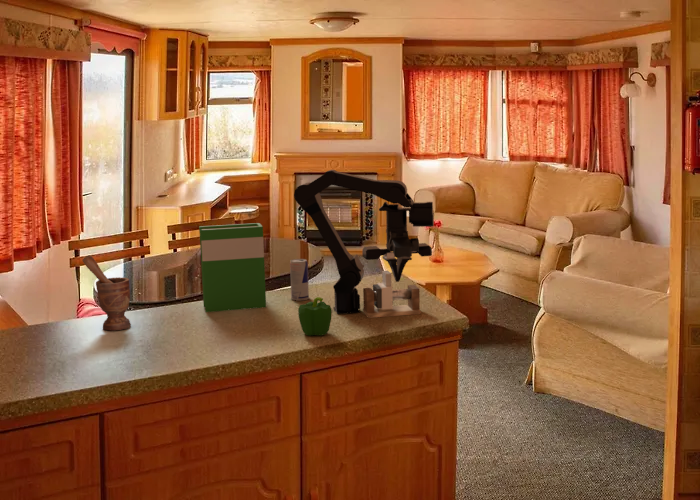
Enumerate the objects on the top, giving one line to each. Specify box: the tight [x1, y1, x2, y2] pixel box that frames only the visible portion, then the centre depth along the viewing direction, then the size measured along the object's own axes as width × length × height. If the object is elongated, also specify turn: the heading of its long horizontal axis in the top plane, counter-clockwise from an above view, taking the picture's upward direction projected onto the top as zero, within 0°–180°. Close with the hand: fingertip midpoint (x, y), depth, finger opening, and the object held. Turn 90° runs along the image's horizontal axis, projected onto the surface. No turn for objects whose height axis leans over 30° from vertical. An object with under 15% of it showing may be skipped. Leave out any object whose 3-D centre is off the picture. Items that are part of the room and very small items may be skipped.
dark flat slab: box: [372, 283, 382, 309], centre depth 217 cm, size 1×6×6 cm, turn 11°
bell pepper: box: [297, 297, 332, 337], centre depth 198 cm, size 8×8×10 cm
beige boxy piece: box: [376, 270, 394, 310], centre depth 217 cm, size 3×6×10 cm, turn 11°
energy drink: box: [289, 258, 310, 302], centre depth 235 cm, size 5×5×12 cm
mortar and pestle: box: [82, 255, 132, 331], centre depth 207 cm, size 12×9×20 cm
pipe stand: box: [362, 284, 421, 318], centre depth 218 cm, size 15×7×7 cm, turn 101°
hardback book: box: [198, 222, 267, 313], centre depth 226 cm, size 18×7×24 cm, turn 104°
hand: (397, 281), depth 217 cm, fingers closed
